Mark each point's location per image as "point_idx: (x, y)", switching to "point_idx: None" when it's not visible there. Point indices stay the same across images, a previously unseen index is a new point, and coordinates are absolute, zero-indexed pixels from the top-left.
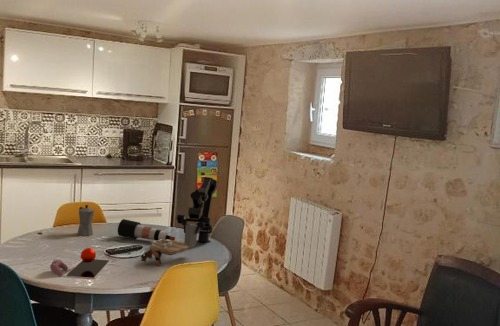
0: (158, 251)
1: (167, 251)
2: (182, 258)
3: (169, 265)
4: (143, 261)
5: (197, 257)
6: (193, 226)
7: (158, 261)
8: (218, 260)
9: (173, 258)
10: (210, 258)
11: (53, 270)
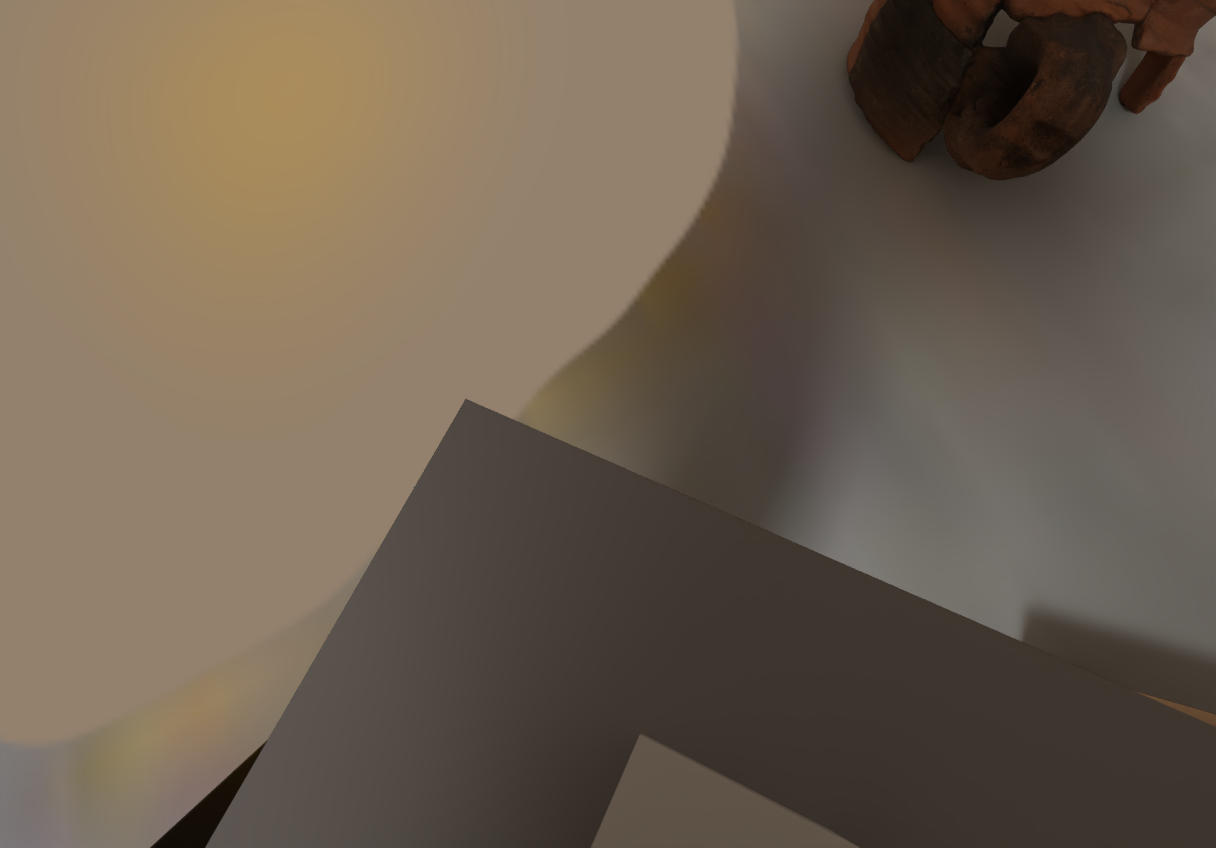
0: (1042, 45)
1: (1168, 704)
2: None
3: (730, 139)
4: (1138, 77)
5: None
6: (337, 649)
7: (876, 7)
8: (22, 785)
9: (853, 465)
10: None
11: None
